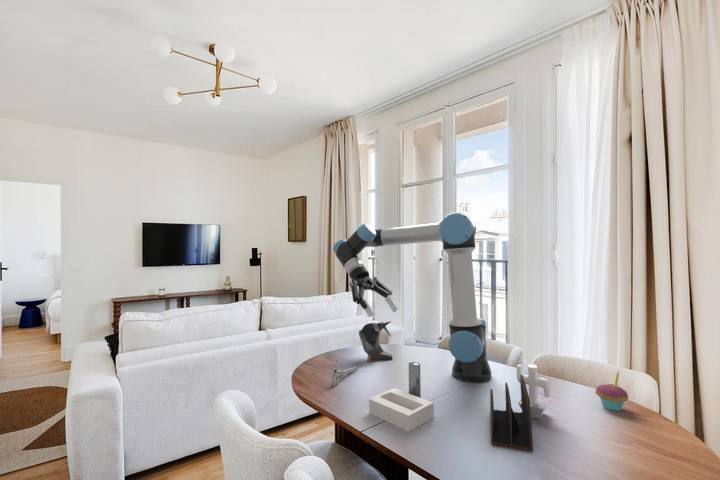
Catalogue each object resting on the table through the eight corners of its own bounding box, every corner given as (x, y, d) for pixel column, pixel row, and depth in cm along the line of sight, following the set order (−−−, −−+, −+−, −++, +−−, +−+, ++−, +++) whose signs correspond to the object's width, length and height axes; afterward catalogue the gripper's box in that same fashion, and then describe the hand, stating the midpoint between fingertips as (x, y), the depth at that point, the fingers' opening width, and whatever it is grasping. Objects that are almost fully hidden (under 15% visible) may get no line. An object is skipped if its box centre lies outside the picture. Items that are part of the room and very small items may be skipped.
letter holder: (524, 417, 110) (523, 370, 110) (533, 453, 91) (532, 397, 91) (489, 412, 113) (489, 367, 113) (491, 446, 94) (490, 392, 94)
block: (369, 413, 113) (369, 398, 113) (394, 401, 121) (394, 388, 121) (409, 431, 102) (408, 415, 102) (433, 417, 110) (433, 402, 110)
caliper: (334, 387, 134) (334, 370, 134) (332, 387, 135) (332, 370, 135) (357, 369, 153) (357, 355, 153) (355, 369, 154) (355, 354, 154)
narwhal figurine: (359, 354, 174) (359, 317, 174) (391, 354, 173) (391, 317, 174) (358, 364, 160) (358, 323, 160) (393, 364, 159) (392, 323, 159)
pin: (421, 396, 125) (420, 362, 125) (420, 401, 121) (419, 366, 121) (409, 395, 126) (409, 361, 126) (408, 400, 122) (407, 365, 122)
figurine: (548, 423, 105) (547, 371, 106) (514, 413, 111) (513, 365, 112) (553, 413, 111) (552, 365, 111) (520, 405, 117) (520, 359, 117)
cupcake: (622, 403, 117) (622, 367, 117) (633, 415, 109) (632, 376, 109) (592, 400, 120) (591, 364, 120) (600, 411, 112) (599, 373, 112)
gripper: (373, 275, 158) (400, 313, 147) (329, 279, 140) (355, 323, 129) (382, 263, 154) (410, 302, 143) (337, 266, 137) (365, 310, 126)
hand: (384, 312), depth 136 cm, fingers open, 13 cm apart
